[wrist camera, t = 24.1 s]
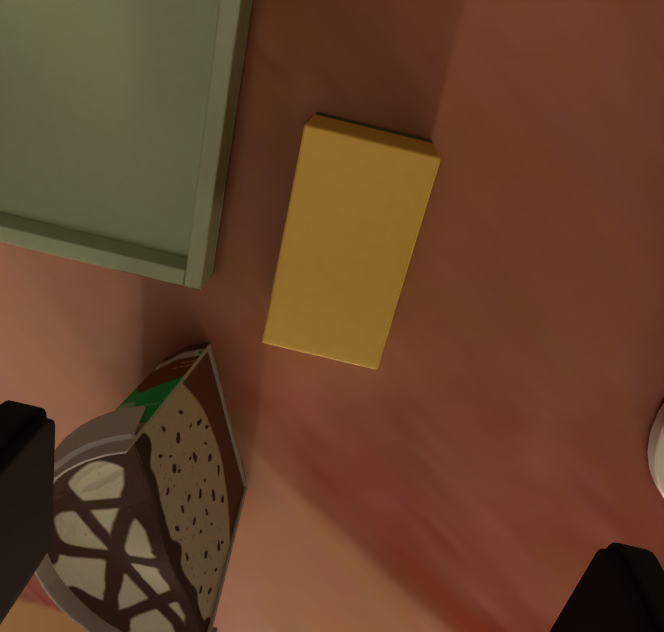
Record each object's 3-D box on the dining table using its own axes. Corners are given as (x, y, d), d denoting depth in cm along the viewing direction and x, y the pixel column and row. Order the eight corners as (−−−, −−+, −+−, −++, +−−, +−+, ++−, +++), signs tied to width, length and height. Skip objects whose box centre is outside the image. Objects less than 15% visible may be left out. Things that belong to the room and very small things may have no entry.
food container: (88, 327, 30) (-41, 450, 21) (203, 316, 29) (121, 438, 20) (153, 512, 35) (72, 676, 26) (252, 506, 34) (205, 673, 25)
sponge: (431, 139, 24) (441, 157, 21) (378, 325, 28) (377, 370, 24) (316, 111, 24) (304, 124, 20) (278, 301, 28) (261, 343, 24)
